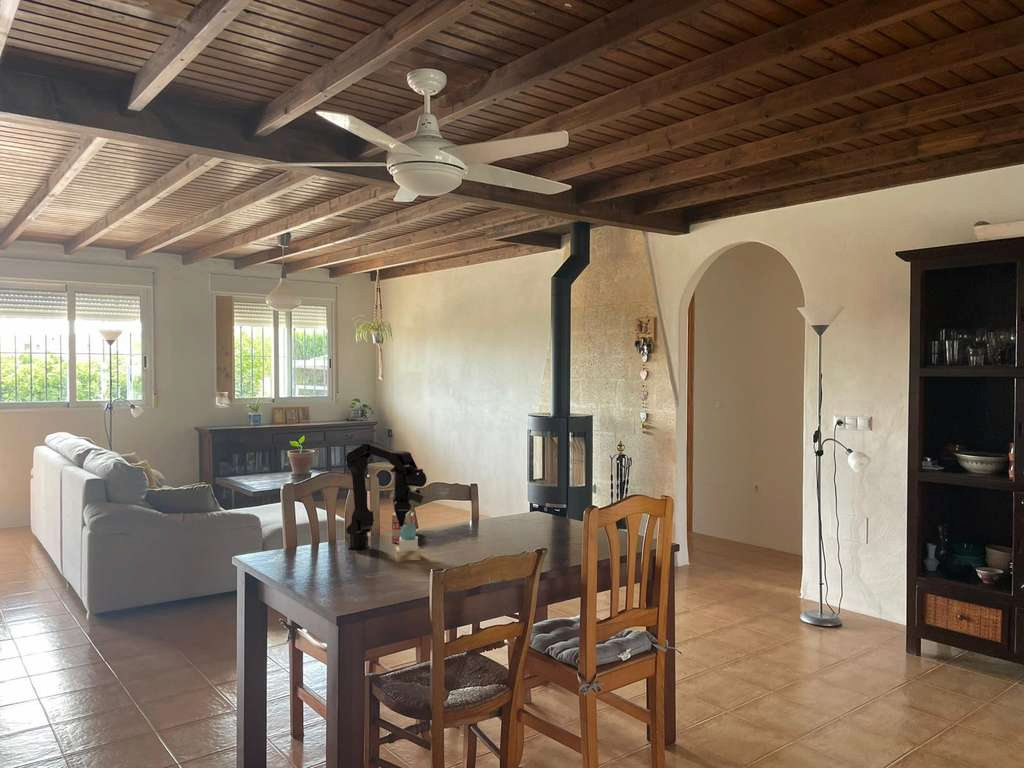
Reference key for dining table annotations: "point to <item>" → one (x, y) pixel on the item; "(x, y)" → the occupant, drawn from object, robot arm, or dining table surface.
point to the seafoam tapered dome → (408, 532)
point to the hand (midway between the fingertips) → (401, 524)
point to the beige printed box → (396, 526)
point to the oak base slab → (407, 554)
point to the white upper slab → (408, 544)
